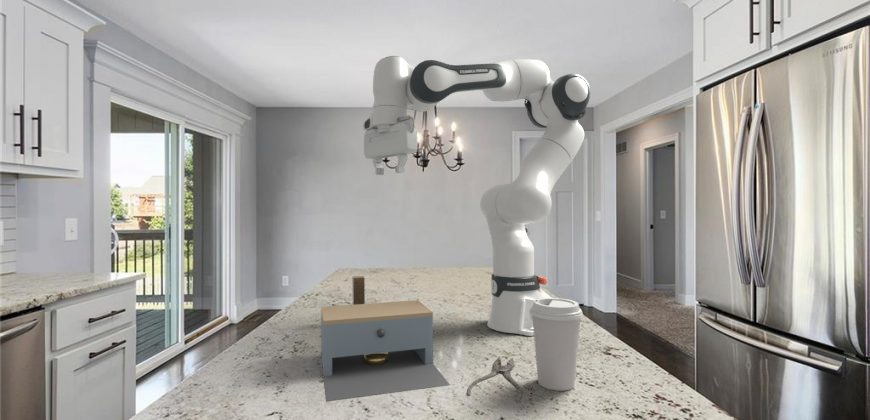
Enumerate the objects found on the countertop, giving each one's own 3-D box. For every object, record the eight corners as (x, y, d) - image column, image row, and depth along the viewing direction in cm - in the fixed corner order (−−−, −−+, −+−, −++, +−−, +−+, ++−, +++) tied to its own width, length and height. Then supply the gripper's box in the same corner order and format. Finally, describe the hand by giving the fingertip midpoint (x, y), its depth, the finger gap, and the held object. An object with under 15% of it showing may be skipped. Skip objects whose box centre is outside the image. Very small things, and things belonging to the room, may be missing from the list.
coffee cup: (546, 369, 86) (546, 294, 85) (592, 383, 79) (592, 302, 79) (519, 383, 79) (519, 302, 79) (567, 399, 72) (567, 311, 72)
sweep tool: (372, 319, 122) (371, 275, 122) (386, 343, 101) (386, 290, 101) (343, 321, 120) (343, 277, 120) (352, 347, 98) (352, 292, 98)
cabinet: (418, 346, 100) (418, 300, 100) (434, 365, 88) (434, 313, 88) (321, 355, 94) (321, 306, 93) (323, 378, 81) (323, 322, 81)
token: (385, 355, 93) (385, 348, 93) (390, 363, 88) (390, 356, 88) (362, 358, 92) (362, 350, 92) (366, 366, 87) (366, 358, 87)
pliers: (466, 397, 72) (467, 355, 92) (466, 402, 72) (467, 359, 92) (524, 399, 71) (513, 357, 91) (524, 404, 71) (513, 361, 91)
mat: (416, 343, 102) (416, 343, 102) (450, 385, 78) (450, 384, 78) (321, 352, 95) (321, 352, 95) (326, 401, 72) (326, 401, 72)
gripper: (423, 115, 104) (423, 172, 105) (379, 127, 120) (379, 176, 120) (402, 112, 100) (402, 170, 101) (359, 124, 116) (359, 175, 116)
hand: (389, 173), depth 111 cm, fingers open, 8 cm apart
